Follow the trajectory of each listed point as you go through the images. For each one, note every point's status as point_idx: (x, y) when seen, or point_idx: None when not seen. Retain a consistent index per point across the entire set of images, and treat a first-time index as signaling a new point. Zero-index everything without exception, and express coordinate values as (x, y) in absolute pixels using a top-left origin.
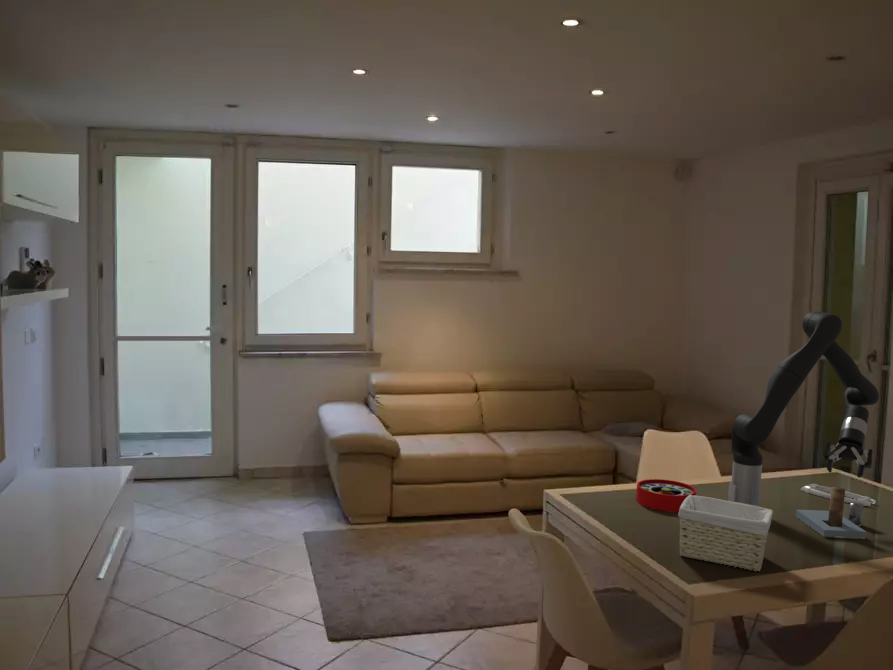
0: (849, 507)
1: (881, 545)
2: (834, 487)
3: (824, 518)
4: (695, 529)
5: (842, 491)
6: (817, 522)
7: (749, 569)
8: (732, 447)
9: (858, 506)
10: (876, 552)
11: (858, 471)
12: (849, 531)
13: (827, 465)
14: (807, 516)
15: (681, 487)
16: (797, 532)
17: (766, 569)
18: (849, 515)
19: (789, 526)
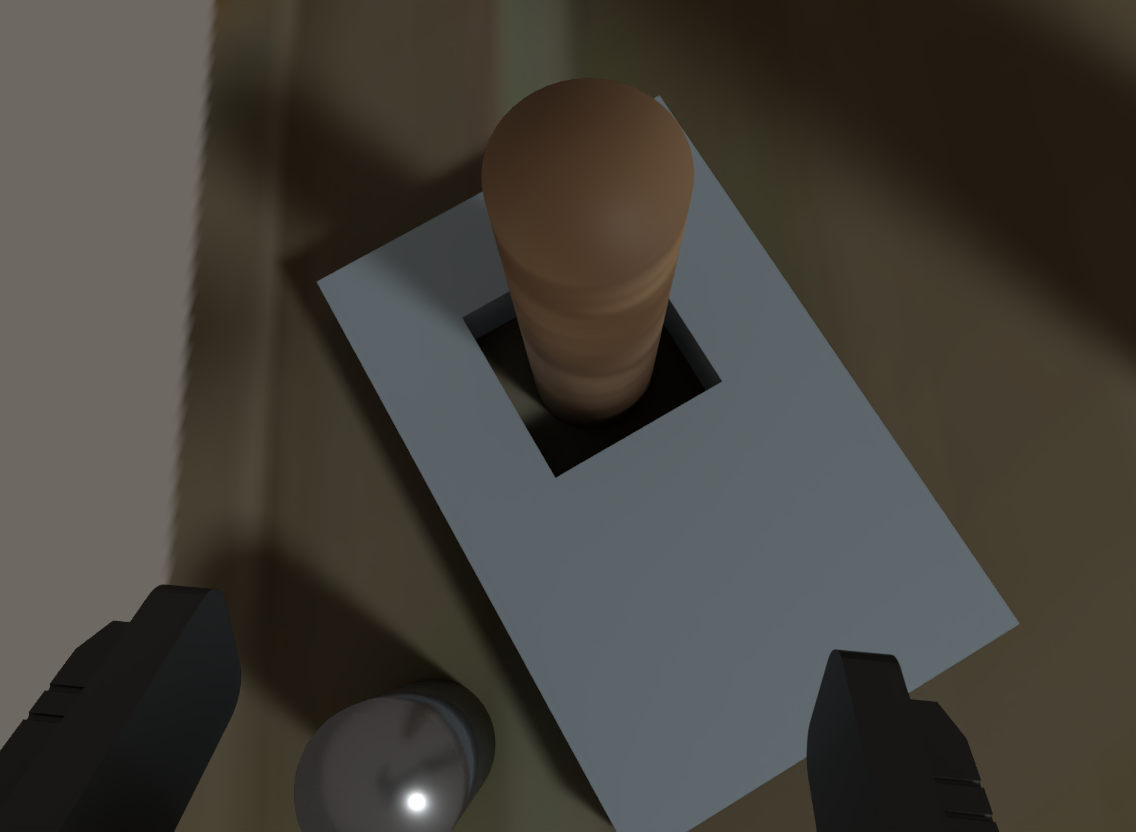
0: (466, 752)
1: (224, 232)
2: (646, 197)
3: (702, 468)
4: None
5: (519, 114)
6: (744, 278)
7: None
8: None
9: (356, 704)
10: (270, 39)
11: (166, 640)
12: (458, 209)
13: (970, 785)
14: (862, 423)
15: None
16: (863, 139)
17: None
18: (472, 720)
19: (957, 262)
